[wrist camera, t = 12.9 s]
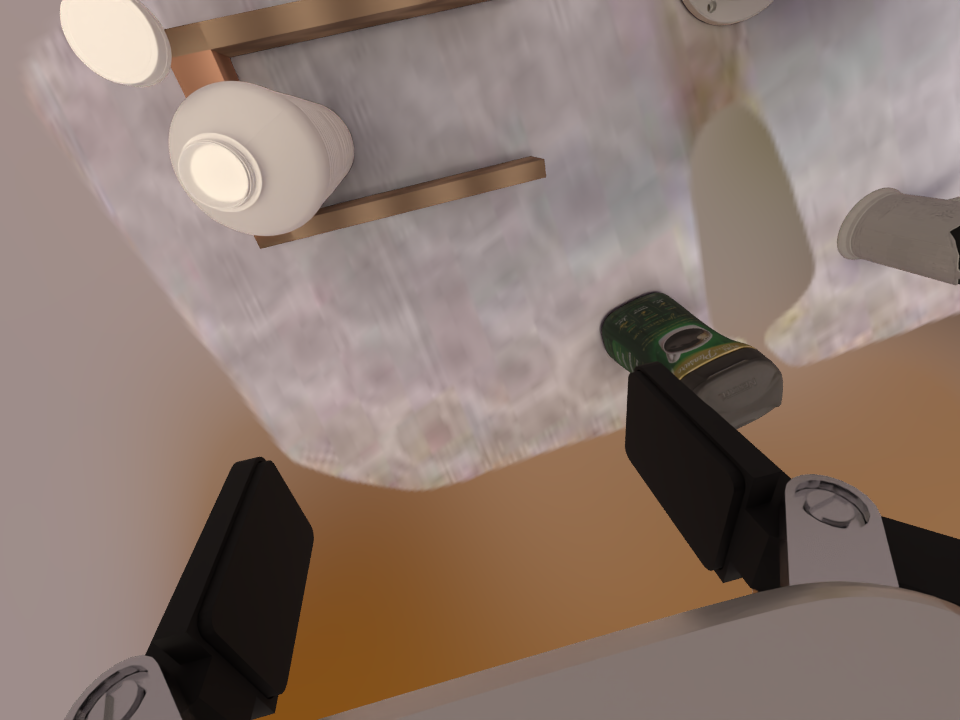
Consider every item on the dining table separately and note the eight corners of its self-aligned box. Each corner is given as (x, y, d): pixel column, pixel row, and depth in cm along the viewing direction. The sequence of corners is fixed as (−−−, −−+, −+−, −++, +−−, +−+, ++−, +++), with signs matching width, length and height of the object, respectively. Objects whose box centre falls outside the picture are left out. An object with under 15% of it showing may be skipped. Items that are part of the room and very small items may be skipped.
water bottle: (368, 167, 37) (344, 222, 16) (305, 198, 38) (199, 293, 16) (311, 57, 33) (173, -69, 11) (239, 93, 33) (-26, 36, 12)
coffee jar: (607, 364, 54) (699, 463, 38) (593, 316, 50) (688, 404, 34) (675, 332, 54) (795, 418, 38) (665, 281, 49) (796, 353, 34)
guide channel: (508, -29, 32) (523, -47, 29) (532, 172, 40) (546, 177, 37) (179, 42, 31) (153, 31, 27) (271, 237, 39) (260, 248, 35)
